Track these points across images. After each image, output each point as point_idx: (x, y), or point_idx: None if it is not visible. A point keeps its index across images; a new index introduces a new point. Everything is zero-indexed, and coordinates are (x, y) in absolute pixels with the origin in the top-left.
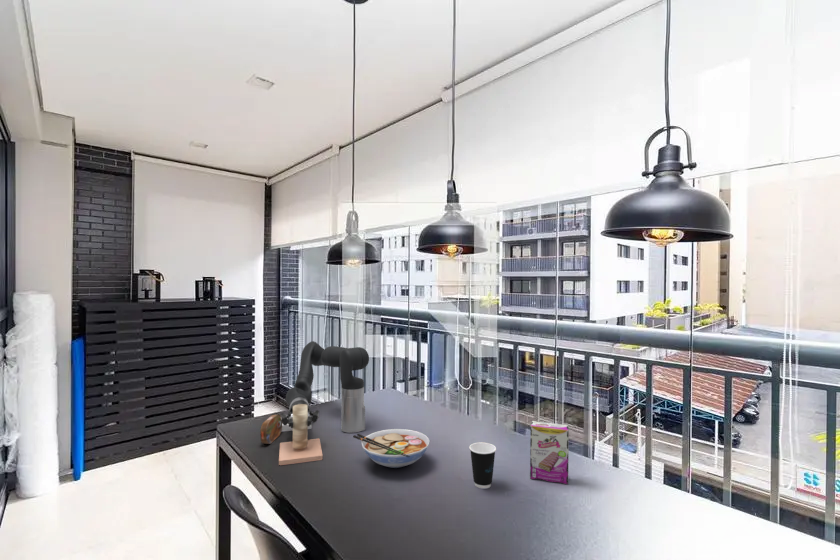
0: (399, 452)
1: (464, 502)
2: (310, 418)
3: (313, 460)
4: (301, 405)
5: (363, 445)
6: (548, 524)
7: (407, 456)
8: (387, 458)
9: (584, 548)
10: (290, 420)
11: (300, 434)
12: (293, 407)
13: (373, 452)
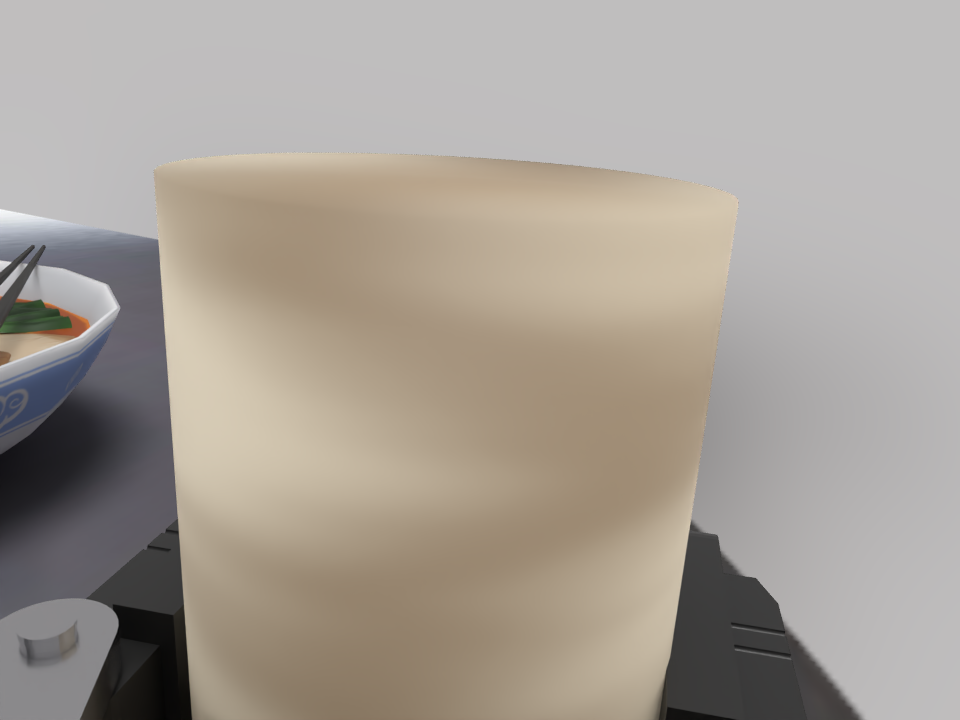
0: (19, 262)
1: None
2: (113, 598)
3: None
4: (375, 181)
5: (24, 369)
6: (29, 244)
7: (42, 246)
8: (78, 304)
9: (77, 227)
10: (746, 710)
11: None
12: (703, 187)
13: (112, 299)
